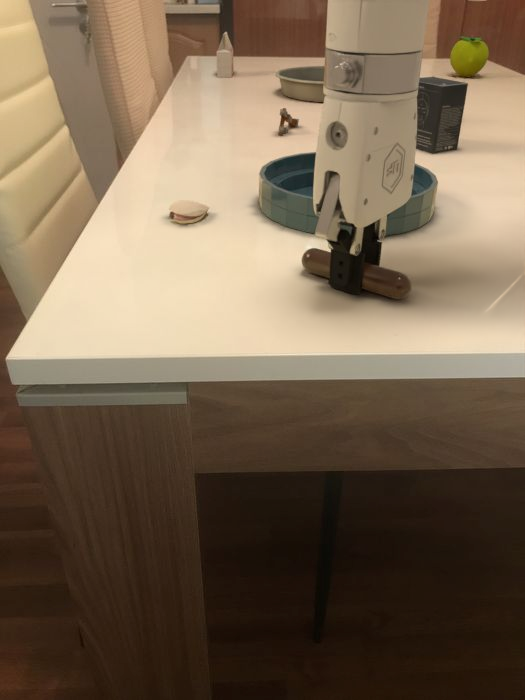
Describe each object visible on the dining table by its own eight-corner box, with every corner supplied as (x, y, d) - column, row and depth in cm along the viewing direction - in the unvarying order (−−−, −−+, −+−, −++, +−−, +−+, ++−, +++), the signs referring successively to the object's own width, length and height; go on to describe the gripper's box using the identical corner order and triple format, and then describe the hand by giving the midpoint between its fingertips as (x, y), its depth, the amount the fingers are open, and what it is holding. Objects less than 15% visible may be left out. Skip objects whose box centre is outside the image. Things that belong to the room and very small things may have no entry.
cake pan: (336, 82, 162) (337, 62, 159) (405, 98, 144) (407, 76, 142) (254, 90, 150) (254, 69, 148) (318, 108, 133) (319, 85, 130)
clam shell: (163, 220, 76) (162, 199, 75) (200, 212, 78) (199, 192, 77) (181, 231, 73) (180, 209, 72) (218, 222, 75) (218, 201, 74)
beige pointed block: (217, 77, 166) (216, 34, 160) (219, 73, 171) (219, 31, 166) (231, 77, 166) (230, 34, 160) (233, 73, 171) (233, 31, 166)
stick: (414, 296, 58) (417, 272, 57) (402, 306, 57) (405, 281, 56) (309, 264, 64) (311, 242, 63) (296, 272, 63) (297, 249, 61)
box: (457, 151, 105) (469, 82, 99) (432, 156, 102) (443, 85, 97) (423, 141, 110) (433, 75, 105) (398, 145, 108) (407, 77, 102)
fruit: (458, 79, 167) (465, 37, 162) (442, 74, 175) (448, 33, 170) (490, 79, 169) (498, 37, 164) (472, 73, 177) (479, 33, 172)
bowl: (459, 206, 82) (465, 171, 79) (379, 258, 67) (384, 216, 65) (319, 175, 92) (321, 143, 90) (224, 214, 78) (223, 177, 76)
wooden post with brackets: (273, 132, 110) (277, 105, 109) (285, 142, 118) (289, 117, 117) (283, 133, 110) (287, 106, 109) (295, 143, 117) (299, 117, 116)
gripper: (362, 94, 43) (343, 330, 53) (457, 66, 54) (426, 266, 64) (273, 82, 47) (270, 304, 57) (378, 58, 58) (361, 248, 68)
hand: (353, 282), depth 60 cm, fingers closed on stick, 2 cm apart
